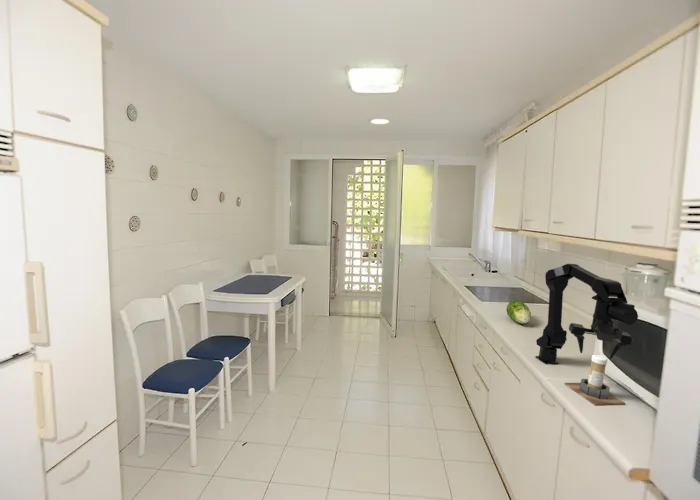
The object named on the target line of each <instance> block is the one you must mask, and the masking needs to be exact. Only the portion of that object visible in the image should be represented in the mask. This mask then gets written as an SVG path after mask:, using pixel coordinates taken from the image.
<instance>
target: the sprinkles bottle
mask: <svg viewBox="0 0 700 500" xmlns="http://www.w3.org/2000/svg"><path fill="white" fill-rule="evenodd" d="M590 359H591V362H590V363H591V364H590V369H589V373H588V378H587V379H588V386H590V387H593V388H596V389H599V390H601V388H602V384H603V383H604V379H605V378H604V377H605V371H606V366H607V364H608V358H607V357H606V356H603V355H600V354H592V355H591V358H590Z"/></svg>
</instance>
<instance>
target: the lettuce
mask: <svg viewBox="0 0 700 500" xmlns="http://www.w3.org/2000/svg"><path fill="white" fill-rule="evenodd" d="M506 314H507V316H508V317H509V318H510V319H511V320H513V321H514V322H515V323H517V324H528V322H529V321H530V320H531V318H532V312H531V311H530V308H529V306H527V305H526V303H525V302H524V301H522V300H518V299H514V300H511V301H510V302H508V304H507V305H506Z"/></svg>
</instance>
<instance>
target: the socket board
mask: <svg viewBox="0 0 700 500" xmlns="http://www.w3.org/2000/svg"><path fill="white" fill-rule="evenodd" d="M580 384H581V382H564V386H566V387H568V388H569V389H570V390H572V391H573V392H575V393H576V394H577V395H579V396H581V397H582V398H583V399H585V400H586V401H588V402H589V403H590V404H592V405H593V406H621V405H622V406H623V405H624V406H625V405H626V402H625V401H622V399H619V398H618V397H616V396H615V395H613V394H612V393H610V392H609V397H608V399H597V398H594V397H591V396H588V395H586V394H585V393H583V392H582V391H580V390H579V389H580Z"/></svg>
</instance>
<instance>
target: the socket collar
mask: <svg viewBox="0 0 700 500" xmlns="http://www.w3.org/2000/svg"><path fill="white" fill-rule="evenodd" d="M580 383H581V384H580V389H579V390H580V391H582V392H583V393H585V394H586V395H588V396H591V397H594V398H597V399H608V397H609V393H610V392H611V391H610V388H611V387H610V386H609V385H608V384H605V383H604V382H603V384H602V388H601V390H599V389H596V388H593V387H590V386H588V378H581V379H580Z"/></svg>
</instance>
